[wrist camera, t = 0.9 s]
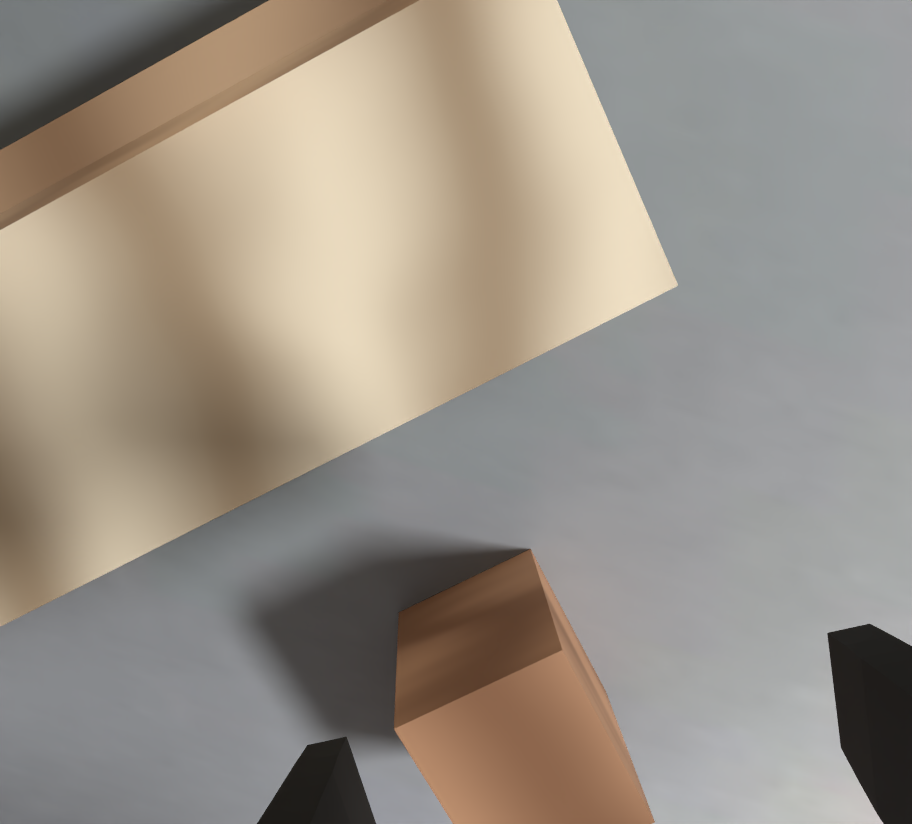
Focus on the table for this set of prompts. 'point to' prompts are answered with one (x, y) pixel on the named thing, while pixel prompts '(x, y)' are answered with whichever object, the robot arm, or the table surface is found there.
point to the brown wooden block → (510, 707)
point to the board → (290, 261)
